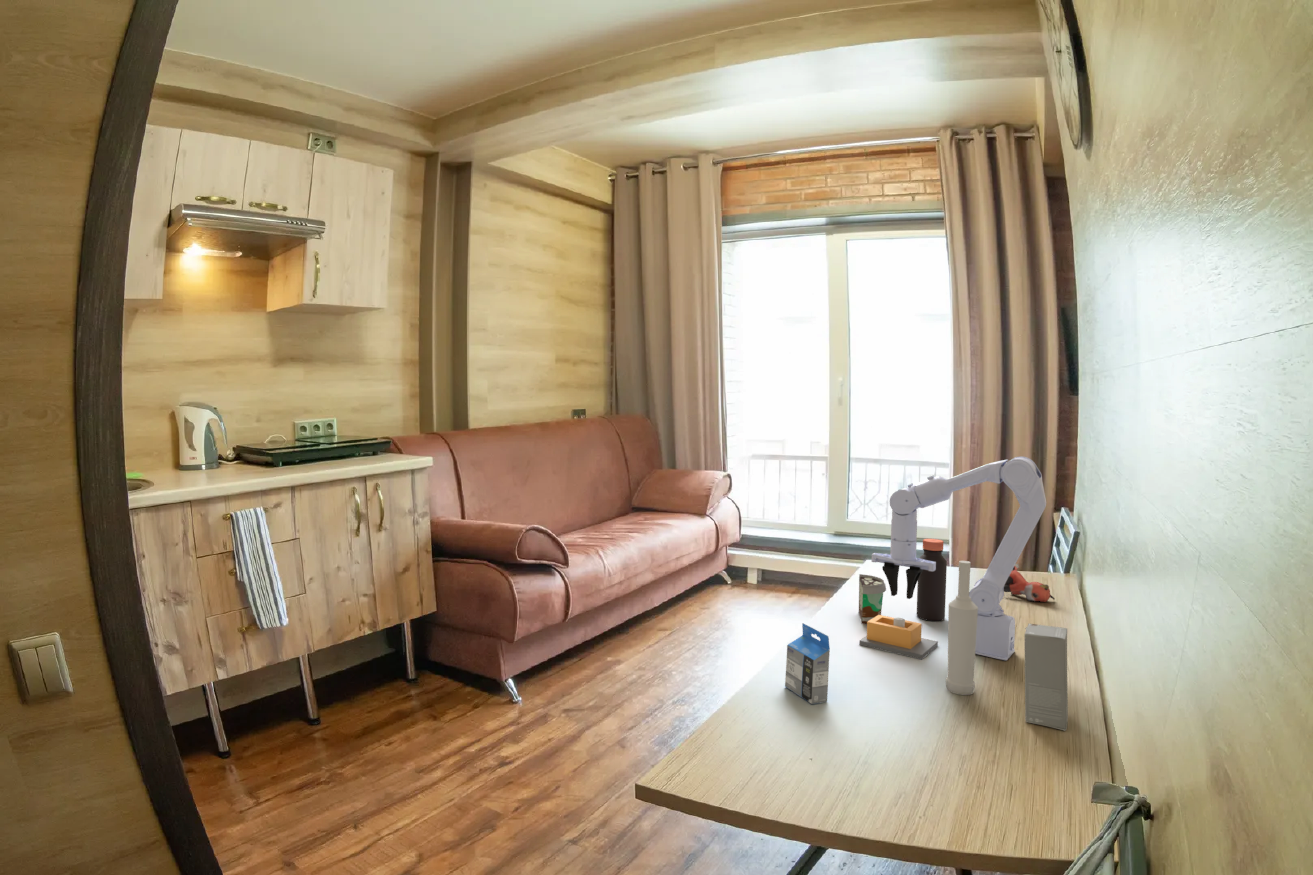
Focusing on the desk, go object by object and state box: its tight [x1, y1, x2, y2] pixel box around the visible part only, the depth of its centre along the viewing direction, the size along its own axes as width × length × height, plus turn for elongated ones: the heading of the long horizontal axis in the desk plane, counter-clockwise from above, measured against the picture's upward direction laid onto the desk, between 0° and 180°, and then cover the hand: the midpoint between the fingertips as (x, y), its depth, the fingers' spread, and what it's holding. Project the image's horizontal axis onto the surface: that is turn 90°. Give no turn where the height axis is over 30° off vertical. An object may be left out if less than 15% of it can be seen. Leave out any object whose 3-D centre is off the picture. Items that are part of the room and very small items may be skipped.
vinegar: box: [916, 538, 948, 622], centre depth 181 cm, size 7×7×20 cm
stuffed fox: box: [1004, 563, 1055, 603], centre depth 201 cm, size 8×11×12 cm
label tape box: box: [784, 623, 830, 705], centre depth 134 cm, size 9×4×12 cm, turn 23°
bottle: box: [945, 560, 978, 696], centre depth 136 cm, size 5×5×25 cm
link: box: [866, 614, 923, 649], centre depth 162 cm, size 10×7×4 cm
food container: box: [858, 573, 887, 625], centre depth 180 cm, size 12×6×10 cm, turn 168°
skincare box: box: [1024, 623, 1069, 732], centre depth 125 cm, size 8×7×16 cm
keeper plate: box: [859, 617, 939, 660], centre depth 161 cm, size 14×11×6 cm
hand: (901, 596), depth 167 cm, fingers open, 3 cm apart
